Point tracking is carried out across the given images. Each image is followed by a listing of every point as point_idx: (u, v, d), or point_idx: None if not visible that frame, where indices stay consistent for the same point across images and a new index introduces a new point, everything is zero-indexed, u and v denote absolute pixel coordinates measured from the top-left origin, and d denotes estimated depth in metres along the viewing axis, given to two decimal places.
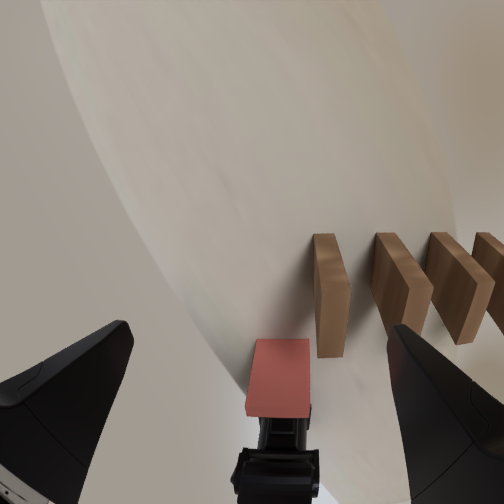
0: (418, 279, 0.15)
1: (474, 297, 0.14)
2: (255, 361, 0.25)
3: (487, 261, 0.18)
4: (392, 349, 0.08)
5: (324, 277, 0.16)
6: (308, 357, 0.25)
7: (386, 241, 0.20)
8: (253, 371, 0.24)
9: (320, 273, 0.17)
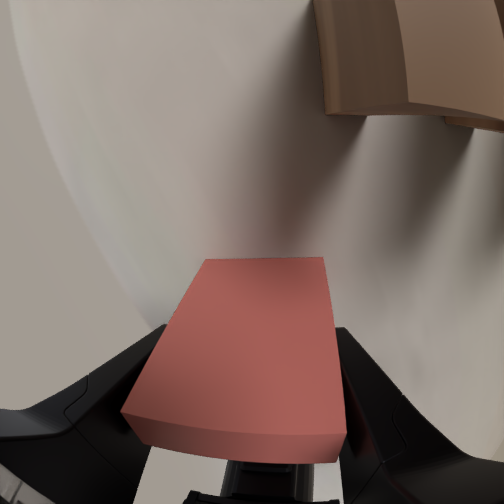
0: None
1: None
2: (188, 298, 0.10)
3: None
4: None
5: None
6: (325, 289, 0.10)
7: None
8: (176, 319, 0.09)
9: None
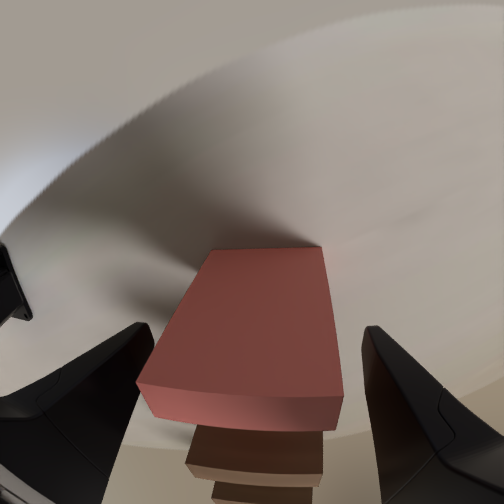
0: None
1: None
2: (196, 283, 0.11)
3: None
4: (365, 351, 0.08)
5: (322, 442, 0.09)
6: (323, 274, 0.11)
7: None
8: (186, 301, 0.10)
9: (322, 431, 0.10)
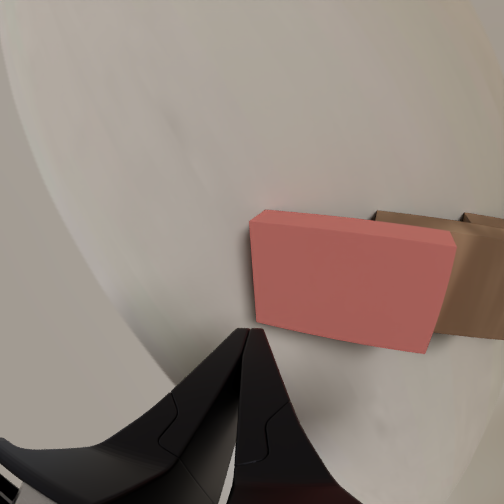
0: None
1: None
2: (318, 332, 0.12)
3: None
4: None
5: None
6: (309, 230, 0.11)
7: (500, 225, 0.10)
8: (345, 337, 0.12)
9: None
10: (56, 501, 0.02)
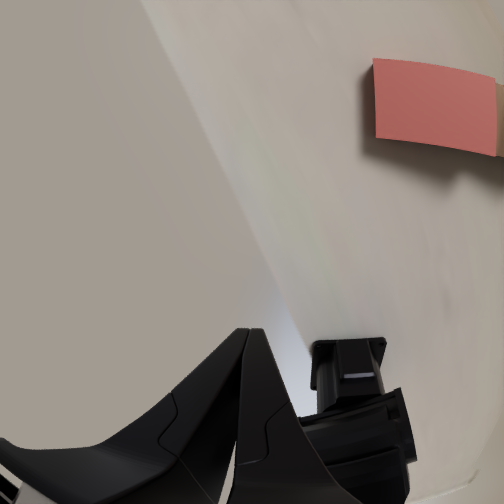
0: None
1: None
2: (424, 139, 0.14)
3: None
4: None
5: None
6: (413, 63, 0.12)
7: None
8: (443, 142, 0.13)
9: None
10: (56, 501, 0.02)
